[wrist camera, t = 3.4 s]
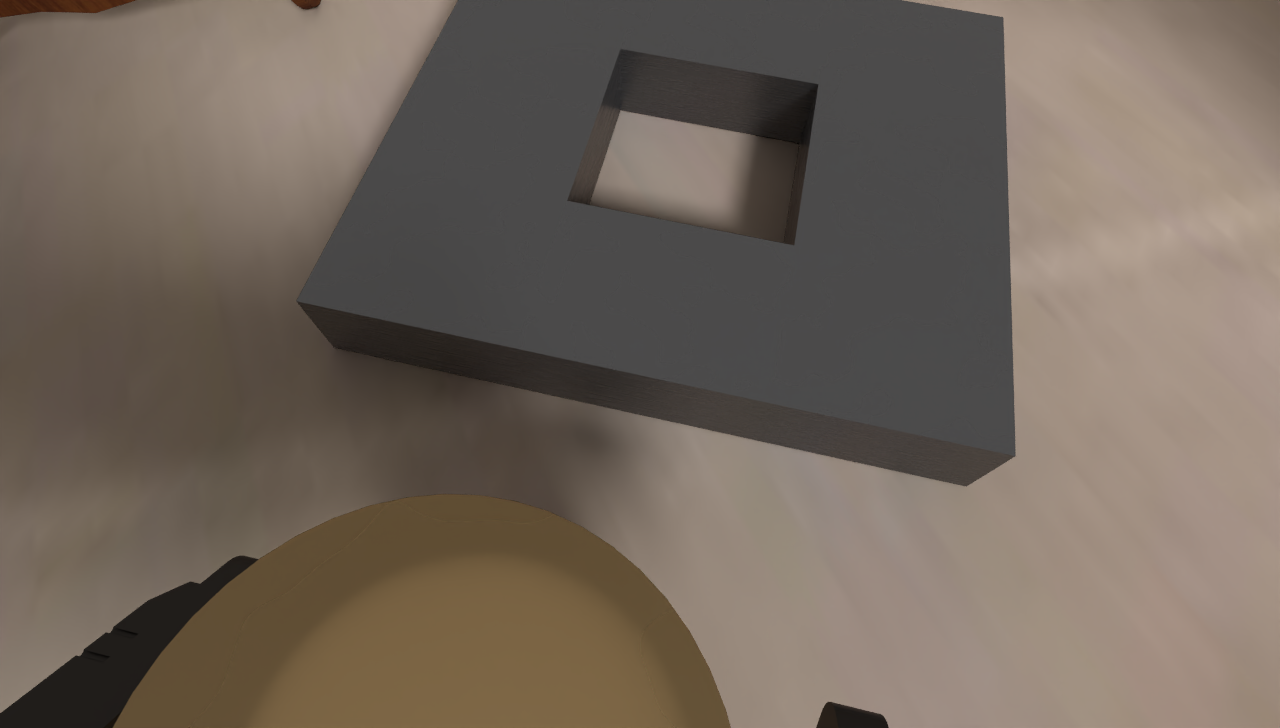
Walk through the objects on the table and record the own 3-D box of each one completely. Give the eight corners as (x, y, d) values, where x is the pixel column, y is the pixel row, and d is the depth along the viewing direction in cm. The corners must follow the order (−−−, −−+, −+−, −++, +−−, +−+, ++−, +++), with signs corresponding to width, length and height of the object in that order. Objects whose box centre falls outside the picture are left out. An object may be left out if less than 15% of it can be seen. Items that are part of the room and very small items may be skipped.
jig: (969, 78, 25) (1003, 17, 23) (966, 486, 18) (1015, 456, 16) (505, -3, 26) (494, -68, 24) (333, 347, 19) (296, 301, 17)
